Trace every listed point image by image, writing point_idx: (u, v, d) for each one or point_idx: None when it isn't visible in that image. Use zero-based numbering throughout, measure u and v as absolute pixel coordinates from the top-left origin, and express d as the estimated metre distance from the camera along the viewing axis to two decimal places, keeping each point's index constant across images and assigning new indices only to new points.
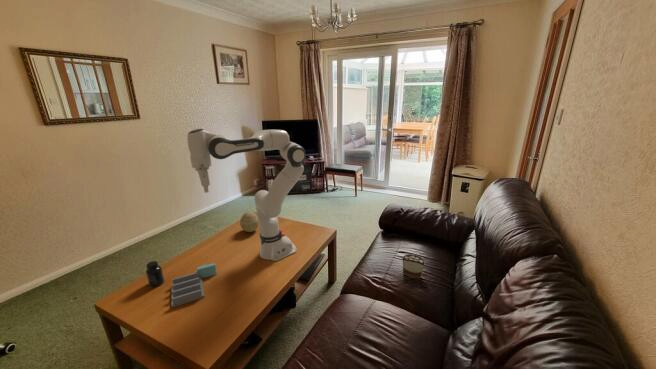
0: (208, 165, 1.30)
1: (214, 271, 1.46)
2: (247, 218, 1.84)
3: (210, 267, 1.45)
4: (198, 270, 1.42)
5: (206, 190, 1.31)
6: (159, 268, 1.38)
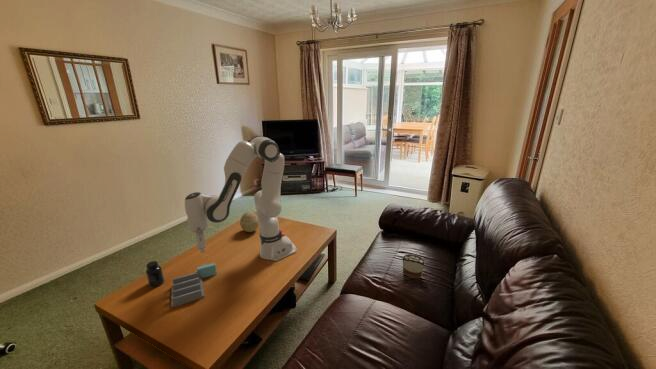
0: (204, 227, 1.34)
1: (214, 271, 1.46)
2: (247, 218, 1.84)
3: (210, 267, 1.45)
4: (198, 270, 1.42)
5: (202, 251, 1.35)
6: (159, 268, 1.38)
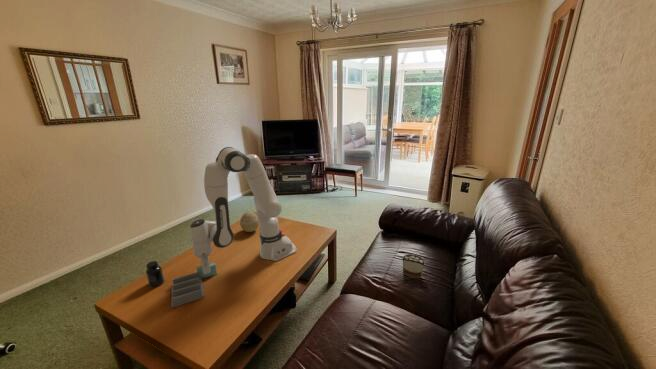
0: (209, 252, 1.40)
1: (214, 271, 1.46)
2: (247, 218, 1.84)
3: (210, 267, 1.45)
4: (198, 270, 1.42)
5: None
6: (159, 268, 1.38)
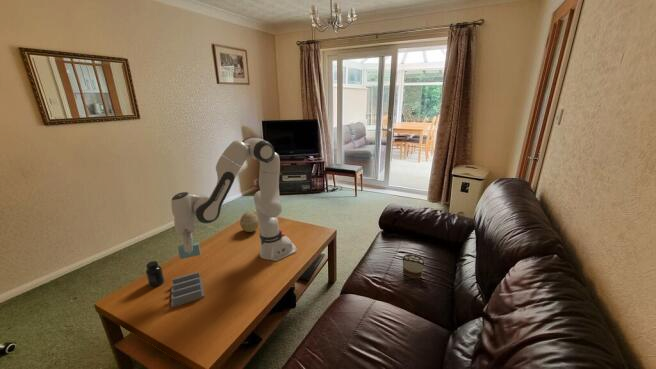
0: (192, 229, 1.27)
1: (197, 251, 1.34)
2: (247, 218, 1.84)
3: (193, 247, 1.32)
4: (179, 249, 1.30)
5: None
6: (159, 268, 1.38)
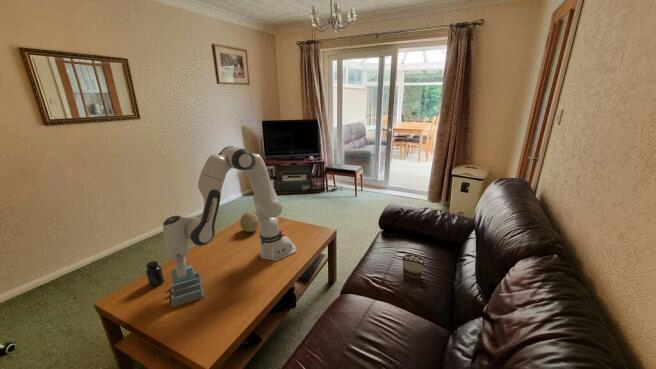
0: (185, 253, 1.25)
1: (191, 274, 1.31)
2: (247, 218, 1.84)
3: (187, 270, 1.30)
4: (173, 273, 1.27)
5: None
6: (159, 268, 1.38)
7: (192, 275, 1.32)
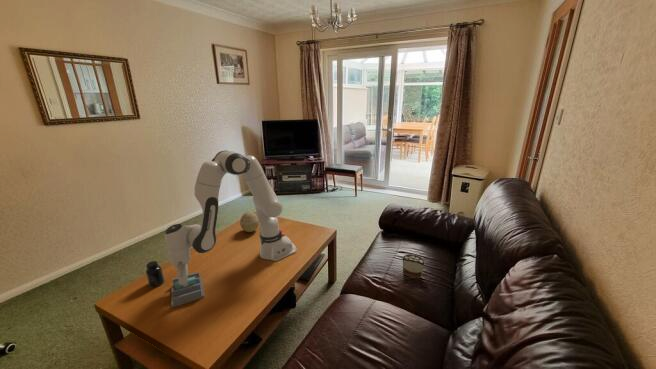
0: (187, 260, 1.26)
1: None
2: (247, 218, 1.84)
3: (190, 281, 1.32)
4: (176, 285, 1.29)
5: (185, 284, 1.28)
6: (159, 268, 1.38)
7: None
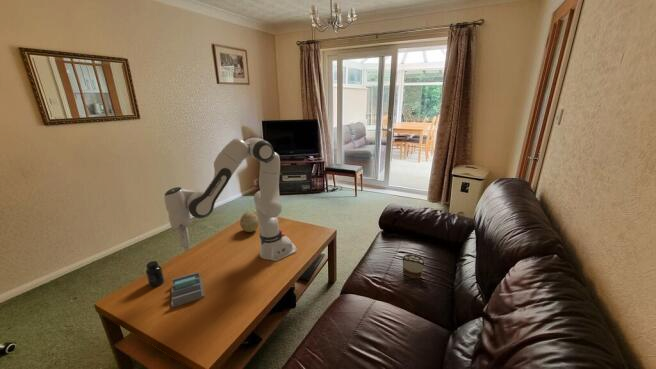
0: (187, 223, 1.27)
1: None
2: (247, 218, 1.84)
3: (190, 281, 1.32)
4: (176, 285, 1.29)
5: (186, 249, 1.28)
6: (159, 268, 1.38)
7: None
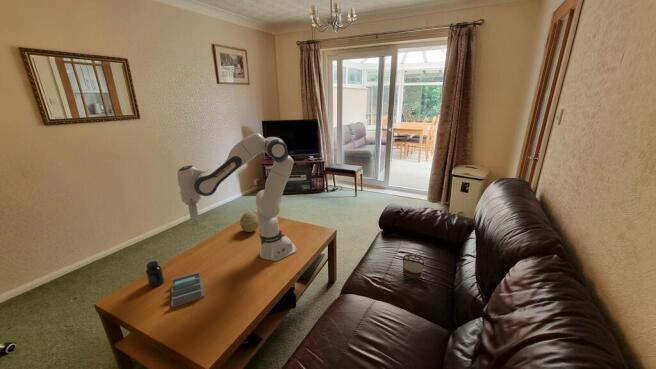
0: (197, 199, 1.38)
1: None
2: (247, 218, 1.84)
3: (190, 281, 1.32)
4: (176, 285, 1.29)
5: (195, 222, 1.39)
6: (159, 268, 1.38)
7: None
